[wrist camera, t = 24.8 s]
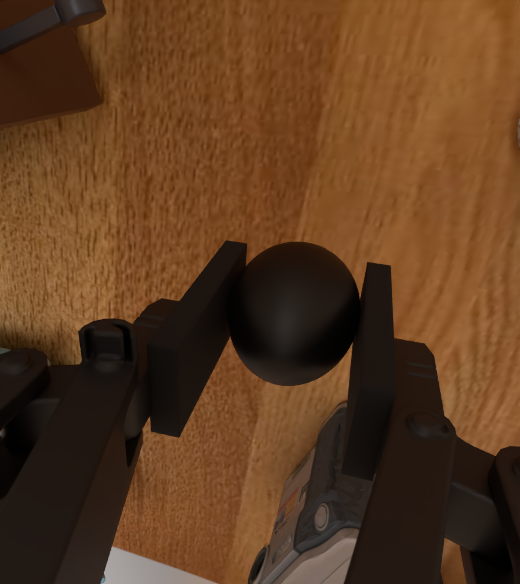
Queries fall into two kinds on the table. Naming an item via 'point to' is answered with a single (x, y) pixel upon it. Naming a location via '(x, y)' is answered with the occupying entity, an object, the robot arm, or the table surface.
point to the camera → (316, 516)
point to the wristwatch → (519, 135)
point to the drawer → (44, 60)
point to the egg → (293, 313)
